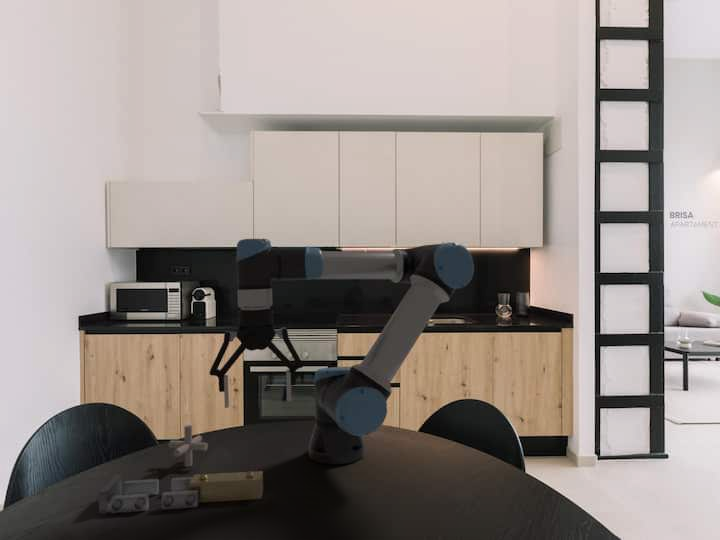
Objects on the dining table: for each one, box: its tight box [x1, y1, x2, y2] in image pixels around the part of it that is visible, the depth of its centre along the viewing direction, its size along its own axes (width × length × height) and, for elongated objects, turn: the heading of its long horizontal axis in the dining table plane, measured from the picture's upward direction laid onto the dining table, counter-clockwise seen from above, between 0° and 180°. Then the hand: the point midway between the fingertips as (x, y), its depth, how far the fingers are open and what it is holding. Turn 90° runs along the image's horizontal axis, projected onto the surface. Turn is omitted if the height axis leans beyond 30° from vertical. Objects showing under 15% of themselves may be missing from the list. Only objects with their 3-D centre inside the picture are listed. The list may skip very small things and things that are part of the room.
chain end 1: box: [98, 474, 160, 515], centre depth 97 cm, size 9×9×4 cm
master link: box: [189, 470, 264, 503], centre depth 100 cm, size 15×4×5 cm, turn 96°
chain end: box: [161, 476, 199, 511], centre depth 99 cm, size 7×9×3 cm
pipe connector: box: [168, 424, 209, 468], centre depth 116 cm, size 10×10×10 cm
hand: (258, 403), depth 102 cm, fingers open, 13 cm apart
